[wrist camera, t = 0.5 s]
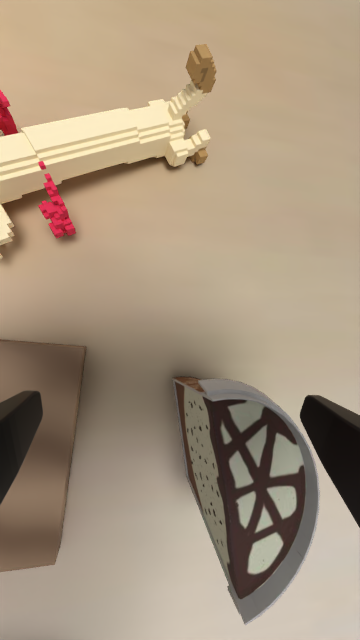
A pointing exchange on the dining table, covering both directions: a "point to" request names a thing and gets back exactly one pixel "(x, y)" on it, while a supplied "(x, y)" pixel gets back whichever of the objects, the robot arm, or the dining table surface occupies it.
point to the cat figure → (98, 144)
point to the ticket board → (40, 450)
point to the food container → (249, 486)
